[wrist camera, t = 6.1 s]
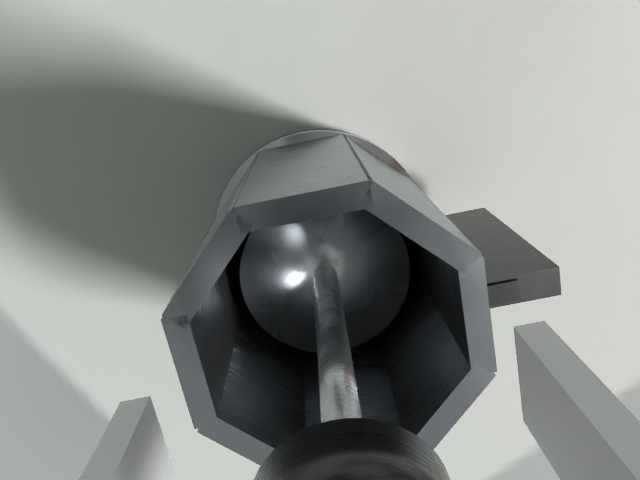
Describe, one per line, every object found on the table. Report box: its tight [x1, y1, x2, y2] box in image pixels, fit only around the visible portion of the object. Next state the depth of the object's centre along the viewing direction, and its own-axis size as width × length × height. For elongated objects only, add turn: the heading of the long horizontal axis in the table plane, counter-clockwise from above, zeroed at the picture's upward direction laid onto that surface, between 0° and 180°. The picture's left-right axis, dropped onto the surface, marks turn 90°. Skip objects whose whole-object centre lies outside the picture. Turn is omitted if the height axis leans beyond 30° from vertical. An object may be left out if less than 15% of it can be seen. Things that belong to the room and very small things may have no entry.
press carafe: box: [161, 130, 561, 465], centre depth 23 cm, size 11×13×12 cm
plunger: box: [240, 209, 450, 480], centre depth 16 cm, size 7×7×16 cm
